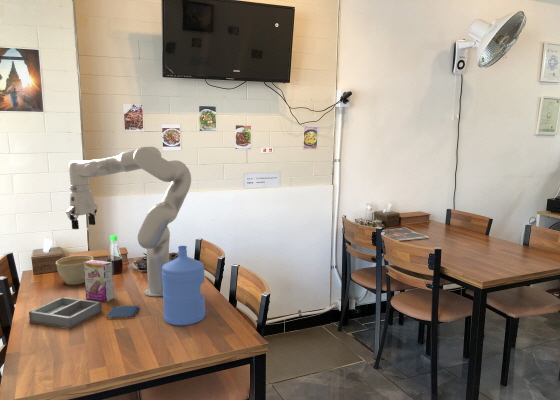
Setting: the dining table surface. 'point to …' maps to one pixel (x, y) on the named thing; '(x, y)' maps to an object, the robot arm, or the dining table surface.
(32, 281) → the dining table surface
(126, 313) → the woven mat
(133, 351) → the dining table surface
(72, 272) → the planter bowl
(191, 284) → the water jug
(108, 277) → the candy bar box
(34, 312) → the tray
